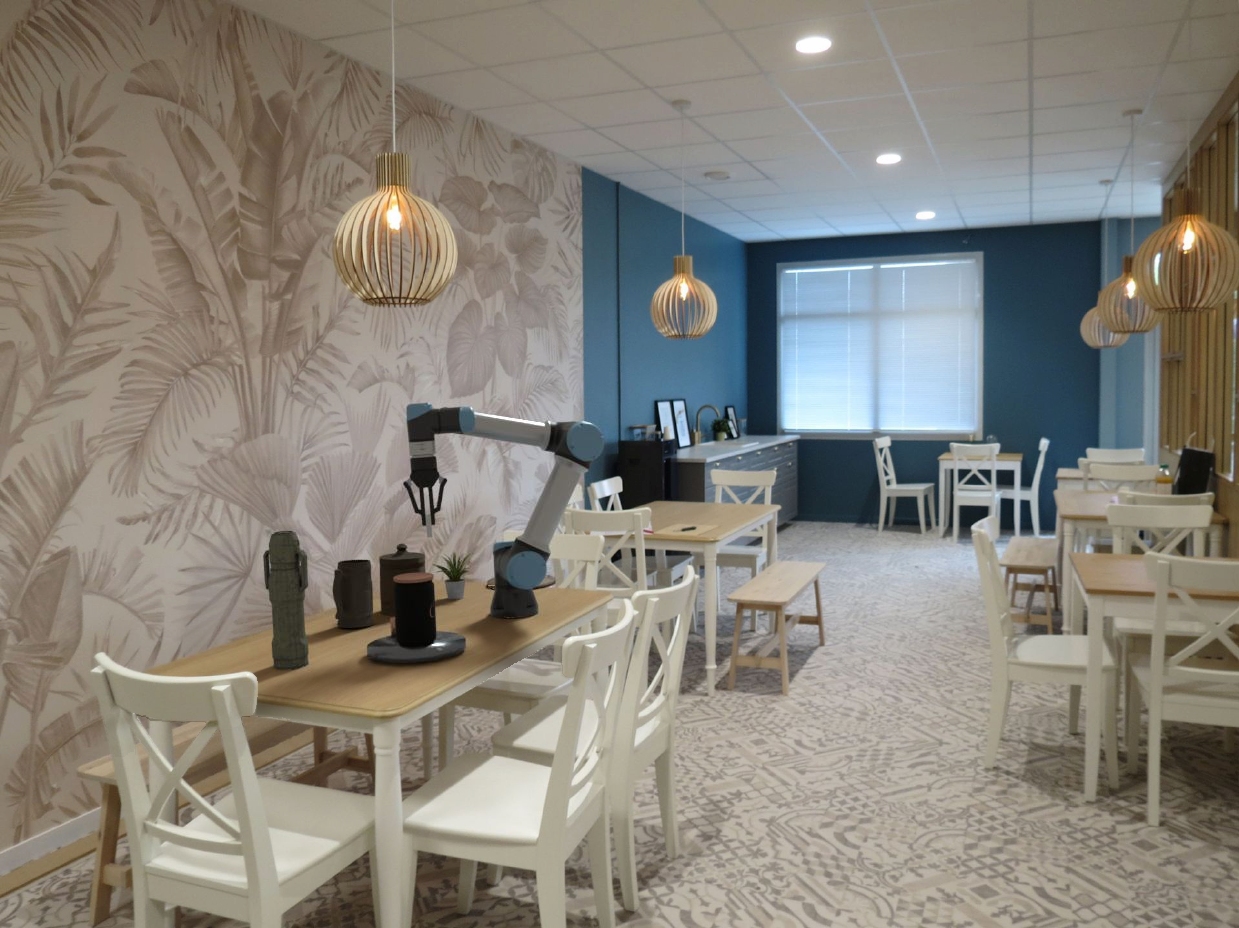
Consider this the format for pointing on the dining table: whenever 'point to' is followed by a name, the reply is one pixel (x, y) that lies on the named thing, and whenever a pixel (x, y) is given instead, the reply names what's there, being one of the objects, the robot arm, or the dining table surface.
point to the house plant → (454, 577)
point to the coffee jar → (415, 609)
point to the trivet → (546, 582)
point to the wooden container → (397, 573)
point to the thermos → (287, 599)
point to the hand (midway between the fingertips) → (429, 536)
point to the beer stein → (353, 593)
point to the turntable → (415, 648)
